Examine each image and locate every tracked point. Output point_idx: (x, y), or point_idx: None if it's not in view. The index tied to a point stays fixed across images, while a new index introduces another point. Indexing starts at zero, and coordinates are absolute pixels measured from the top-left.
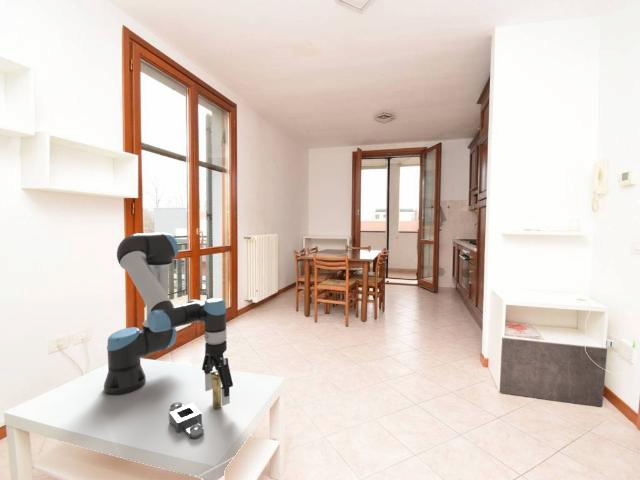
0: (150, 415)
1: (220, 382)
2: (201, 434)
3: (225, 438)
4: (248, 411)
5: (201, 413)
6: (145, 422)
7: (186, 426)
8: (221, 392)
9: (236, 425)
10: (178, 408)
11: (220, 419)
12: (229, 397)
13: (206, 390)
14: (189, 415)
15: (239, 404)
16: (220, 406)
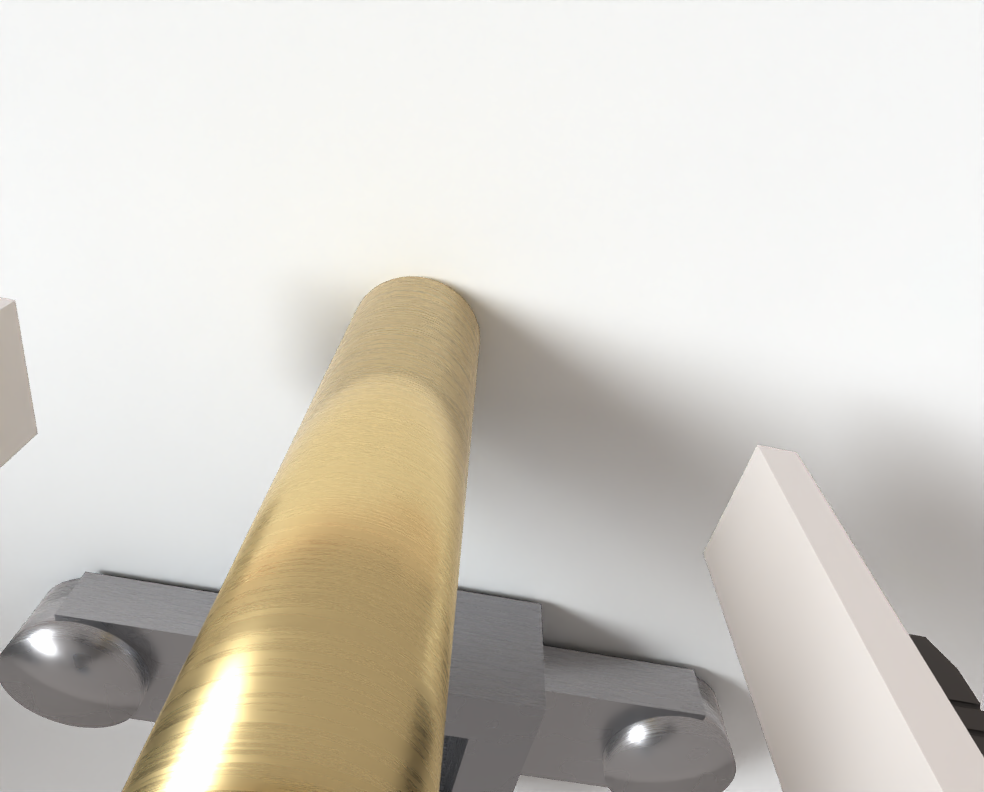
0: (15, 737)
1: (430, 685)
2: (719, 712)
3: (968, 613)
4: (976, 96)
5: (544, 704)
6: (109, 786)
7: (527, 763)
8: (781, 786)
9: (970, 436)
10: (146, 683)
11: (679, 463)
12: (844, 533)
13: (28, 438)
14: (464, 778)
15: (665, 29)
16: (475, 334)
